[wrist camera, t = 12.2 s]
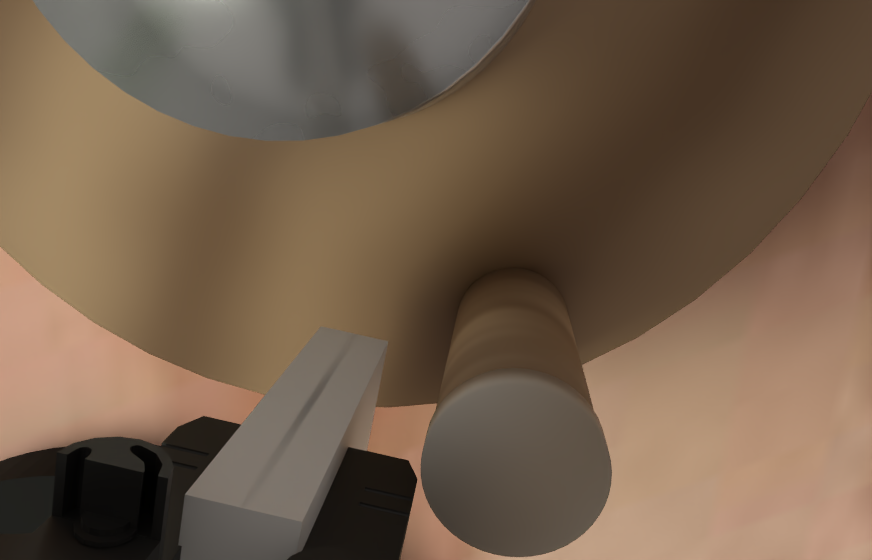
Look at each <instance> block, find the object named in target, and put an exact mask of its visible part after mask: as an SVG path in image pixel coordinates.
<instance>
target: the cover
mask: <svg viewBox="0 0 872 560" xmlns="http://www.w3.org/2000/svg"><path fill="white" fill-rule="evenodd" d="M535 1H536V0H33V2H34V3H35V5H36V6H37V8H38V9H39V11H40V12H41V13H42V14H43V15H44V17H45V18H46V19H47V20H48V21H49V23H50V24H51V25H52V26H53V27H54V29H55V30H56V31H57V32H58V33H59V35H60V36H61V37H62V38H63V40H64V41H65V42H66V43H67V44H68V45H69V46H70V47H72V48H73V49H74V50H75V51H76V52H77V53H78V54H79V55H80V56H81V57H82V58H83V59H84V60H85V61H86V62H87V63H88V64H89V65H90V66H91V67H92V68H93V69H95V70H96V71H97V72H99V73H100V74H101V75H103V76H104V77H105V78H107V79H108V80H109V81H111V82H112V83H113V84H115V85H116V86H117V87H119V88H120V89H121V90H123V91H124V92H125V93H127V94H129V95H131V96H132V97H134V98H136V99H138V100H139V101H141V102H143V103H144V104H146V105H148V106H150V107H151V108H153V109H155V110H157V111H158V112H161V113H163V114H166V115H168V116H170V117H173V118H175V119H178V120H180V121H182V122H185V123H187V124H189V125H192V126H195V127H199V128H202V129H206V130H210V131H213V132H217V133H221V134H224V135H228V136H234V137H242V138H249V139H256V140H264V141H303V140H310V139H318V138H325V137H332V136H339V135H343V134H346V133H350V132H353V131H357V130H360V129H364V128H368V127H371V126H375V125H378V124H382V123H385V122H389V121H392V120H395V119H399V118H402V117H406V116H409V115H411V114H414V113H416V112H418V111H420V110H423V109H425V108H427V107H430V106H432V105H434V104H436V103H438V102H439V101H441V100H443V99H444V98H446V97H448V96H449V95H451V94H453V93H454V92H456V91H458V90H459V89H461V88H462V87H463V86H464V85H466V84H467V83H468V82H469V81H471V80H472V79H473V78H474V77H476V76H477V75H478V74H479V73H481V72H482V71H483V70H484V69H485V68H486V67H487V66H488V65H489V64H490V63H491V62H492V61H493V60H494V59H495V58H496V57H497V56H498V55H499V54H500V52H501V51H502V50H503V49H504V48H505V47H506V46H507V44H508V43H509V42H510V40H511V39H512V38H513V36H514V35H515V33H516V32H517V31H518V29H519V28H520V27H521V25H522V24H523V22H524V21H525V19H526V17H527V15H528V14H529V12H530V10H531V8H532V7H533V5H534V3H535Z"/></svg>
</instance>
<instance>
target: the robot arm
mask: <svg viewBox="0 0 872 560" xmlns="http://www.w3.org/2000/svg"><path fill="white" fill-rule="evenodd" d="M387 346H388V341H385V340H380V339H376V338H371V337H367V336H362V335H358V334H353V333H349V332H345V331H340V330H336V329H331V328H327V327H322V326H321V327H320V328H319V329H318V331H317V332H316V333H315V334H314V336H313V337H312V338H311V339H310V340H309V342H308V343H307V344H306V345H305V347H304V348H303V349H302V350H301V352H300V353H299V354H298V355H297V357H296V358H295V359H294V360H293V361H292V363H291V364H290V365H289V366H288V368H287V369H286V370H285V371H284V373H283V374H282V375H281V376H280V378H279V379H278V380H277V381H276V382H275V384H274V385H273V386H272V387H271V389H270V390H269V391H268V392H267V394H266V395H265V396H264V397H263V399H262V400H261V401H260V402H259V404H258V405H257V406H256V407H255V408H254V410H253V411H252V412H251V413H250V415H249V416H248V417H247V418H246V420H245V421H244V422H243V423H242V425H240V424H236V423H232V422H227V421H223V420H219V419H214V418H210V417H205V416H203V417H201V418H198V419H196V420H193V421H191V422H189V423H186V424H184V425H181V426H179V427H177V428H176V429H175V430H174V431H173V432H172V433H171V434H170V435H169V436H168V437H167V438H166V439H165V440H164V441H163V442H162V445H161V446H157V445H154V444H151V443H148V442H145V441H143V440H139V439H131V438H124V437H105V438H93V439H89V440H85V441H81V442H77V443H73V444H71V445H69V446H68V447H66V448H64V449H62V450H60V451H58V452H57V456H56V468H55V481H54V493H53V505H52V515H51V516H50V517H49V518H48V519H47V520H46V521H45V522H44V523H43V524H42V525H41V526H39V527H38V528H37V529H36V530H35V531H34V532H33V533H25V534H0V560H400V557H401V553H402V548H403V543H404V539H405V534H406V530H407V525H408V520H409V516H410V511H411V507H412V502H413V498H414V493H415V488H416V484H417V477H416V475H415V473H414V471H413V469H412V467H411V465H410V463H409V461H408V460H404V459H399V458H395V457H390V456H386V455H382V454H377V453H373V452H369V451H367V447H368V442H369V437H370V432H371V427H372V422H373V417H374V412H375V407H376V402H377V397H378V391H379V386H380V381H381V376H382V371H383V366H384V361H385V356H386V351H387Z"/></svg>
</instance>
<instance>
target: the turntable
mask: <svg viewBox="0 0 872 560" xmlns="http://www.w3.org/2000/svg"><path fill="white" fill-rule="evenodd" d="M871 92H872V0H536V1H535V3H534V5H533V7H532V8H531V10H530V12H529V14H528V15H527V17H526V19H525V21H524V22H523V24H522V25H521V27H520V28H519V29H518V31H517V32H516V33H515V35H514V36H513V38H512V39H511V40H510V42H509V43H508V44H507V46H506V47H505V48H504V49H503V50H502V51H501V52H500V54H499V55H498V56H497V57H496V58H495V59H494V60H493V61H492V62H491V63H490V64H489V65H488V66H487V67H486V68H485V69H484V70H483V71H482V72H481V73H479V74H478V75H477V76H476V77H474V78H473V79H472V80H471V81H469V82H468V83H467V84H466V85H464V86H463V87H462V88H461V89H459V90H458V91H456V92H454V93H453V94H451V95H449V96H448V97H446V98H444V99H443V100H441V101H439V102H438V103H436V104H434V105H432V106H430V107H427V108H425V109H423V110H420V111H418V112H416V113H414V114H411V115H409V116H406V117H402V118H399V119H395V120H392V121H389V122H385V123H382V124H378V125H375V126H371V127H368V128H364V129H360V130H357V131H353V132H350V133H346V134H343V135H339V136H332V137H325V138H318V139H310V140H303V141H264V140H256V139H249V138H242V137H234V136H228V135H224V134H221V133H217V132H213V131H210V130H206V129H202V128H199V127H195V126H192V125H189V124H187V123H185V122H182V121H180V120H178V119H175V118H173V117H170V116H168V115H166V114H163V113H161V112H158V111H157V110H155V109H153V108H151V107H150V106H148V105H146V104H144V103H143V102H141V101H139V100H138V99H136V98H134V97H132V96H131V95H129V94H127V93H125V92H124V91H123V90H121V89H120V88H119V87H117V86H116V85H115V84H113V83H112V82H111V81H109V80H108V79H107V78H105V77H104V76H103V75H101V74H100V73H99V72H97V71H96V70H95V69H93V68H92V67H91V66H90V65H89V64H88V63H87V62H86V61H85V60H84V59H83V58H82V57H81V56H80V55H79V54H78V53H77V52H76V51H75V50H74V49H73V48H72V47H70V46H69V45H68V44H67V43H66V42H65V41H64V40H63V38H62V37H61V36H60V35H59V33H58V32H57V31H56V30H55V29H54V27H53V26H52V25H51V24H50V23H49V21H48V20H47V19H46V18H45V17H44V15H43V14H42V13H41V12H40V11H39V9H38V8H37V6H36V5H35V3H34V2H33V0H0V247H1V248H2V249H3V250H4V251H6V252H7V253H8V254H9V255H10V256H11V257H12V258H13V259H14V260H15V261H16V262H18V263H19V264H20V265H21V266H22V267H23V268H24V269H25V270H26V271H27V272H29V273H30V274H31V275H32V276H33V277H34V278H35V279H36V280H37V281H38V282H39V283H41V284H42V285H43V286H44V287H46V288H47V289H49V290H50V291H51V292H53V293H54V294H55V295H57V296H58V297H60V298H61V299H62V300H64V301H65V302H66V303H68V304H69V305H71V306H72V307H73V308H75V309H76V310H77V311H79V312H80V313H82V314H83V315H84V316H86V317H87V318H88V319H90V320H91V321H93V322H94V323H96V324H98V325H99V326H101V327H103V328H105V329H106V330H108V331H110V332H112V333H113V334H115V335H117V336H119V337H120V338H122V339H124V340H126V341H128V342H129V343H131V344H133V345H135V346H136V347H138V348H140V349H142V350H143V351H145V352H147V353H149V354H151V355H153V356H156V357H158V358H161V359H163V360H165V361H168V362H170V363H172V364H175V365H177V366H180V367H182V368H184V369H187V370H189V371H191V372H194V373H196V374H199V375H201V376H203V377H206V378H209V379H212V380H216V381H219V382H223V383H226V384H230V385H233V386H237V387H240V388H244V389H247V390H250V391H254V392H257V393H261V394H264V395H266V394H267V392H268V391H269V390H270V389H271V387H272V386H273V385H274V384H275V382H276V381H277V380H278V379H279V378H280V376H281V375H282V374H283V373H284V371H285V370H286V369H287V368H288V366H289V365H290V364H291V363H292V361H293V360H294V359H295V358H296V357H297V355H298V354H299V353H300V352H301V350H302V349H303V348H304V347H305V345H306V344H307V343H308V342H309V340H310V339H311V338H312V337H313V336H314V334H315V333H316V332H317V331H318V329H319V328H320V327H321V326H322V327H327V328H331V329H336V330H340V331H345V332H349V333H353V334H358V335H362V336H367V337H371V338H376V339H380V340H385V341H388V346H387V351H386V356H385V361H384V366H383V371H382V376H381V381H380V386H379V391H378V397H377V402H376V407H399V406H410V405H422V404H434V403H437V407H436V411H435V412H434V415H433V417H432V419H431V421H430V424H429V428H428V431H427V435H426V439H425V443H424V448H423V452H422V458H421V479H422V486H423V489H424V493H425V496H426V499H427V501H428V503H429V505H430V507H431V509H432V510H433V512H434V514H435V515H436V517H437V518H438V519H439V520H440V522H441V523H442V524H443V525H444V526H445V527H446V528H447V529H448V530H449V531H450V532H451V533H452V534H454V535H455V536H456V537H458V538H459V539H460V540H462V541H464V542H465V543H467V544H469V545H471V546H472V547H475V548H477V549H480V550H482V551H485V552H488V553H492V554H496V555H501V556H509V557H528V556H536V555H541V554H545V553H549V552H552V551H555V550H557V549H559V548H562V547H564V546H566V545H568V544H569V543H571V542H573V541H574V540H576V539H577V538H578V537H580V536H581V535H582V534H584V533H585V532H586V531H587V530H588V529H589V528H590V527H591V526H592V525H593V523H594V522H595V521H596V519H597V518H598V516H599V515H600V513H601V511H602V510H603V508H604V506H605V503H606V501H607V498H608V495H609V491H610V486H611V477H612V469H611V460H610V455H609V451H608V447H607V444H606V440H605V436H604V433H603V429H602V427H601V424H600V422H599V419H598V417H597V415H596V414H595V412H594V410H593V406H592V402H591V398H590V394H589V391H588V387H587V383H586V379H585V376H584V372H583V368H582V364H584V363H586V362H588V361H591V360H593V359H595V358H597V357H599V356H601V355H603V354H605V353H607V352H609V351H611V350H613V349H615V348H617V347H619V346H621V345H623V344H625V343H627V342H629V341H631V340H633V339H635V338H637V337H639V336H640V335H642V334H643V333H645V332H647V331H648V330H650V329H651V328H653V327H654V326H656V325H657V324H659V323H660V322H662V321H663V320H665V319H666V318H668V317H669V316H671V315H673V314H674V313H676V312H677V311H679V310H680V309H682V308H683V307H685V306H686V305H688V304H689V303H691V302H692V301H694V300H695V299H697V298H698V297H699V296H700V295H701V294H703V293H704V292H705V291H706V290H707V289H708V288H710V287H711V286H712V285H713V284H714V283H716V282H717V281H718V280H719V279H720V278H722V277H723V276H724V275H725V274H726V273H727V272H729V271H730V270H731V269H732V268H733V267H735V266H736V265H737V264H738V263H739V262H741V261H742V260H743V259H744V258H745V257H746V256H748V255H749V254H750V253H751V252H752V251H753V250H754V249H755V248H756V247H757V245H758V244H759V243H760V242H761V241H762V240H763V239H764V238H765V237H766V236H767V235H768V234H769V233H770V232H771V230H772V229H773V228H774V227H775V226H776V225H777V224H778V223H779V222H780V221H781V220H782V219H783V218H784V217H785V215H786V214H787V213H788V212H789V211H790V210H791V209H792V208H793V207H794V206H795V205H796V204H797V203H798V202H799V200H800V199H801V198H802V197H803V195H804V194H805V193H806V191H807V190H808V189H809V187H810V186H811V184H812V183H813V182H814V180H815V179H816V178H817V176H818V175H819V174H820V172H821V171H822V169H823V168H824V167H825V165H826V164H827V163H828V161H829V160H830V158H831V157H832V156H833V154H834V153H835V152H836V150H837V149H838V148H839V146H840V145H841V143H842V142H843V141H844V139H845V138H846V137H847V135H848V133H849V131H850V130H851V128H852V126H853V124H854V123H855V121H856V119H857V117H858V115H859V114H860V112H861V110H862V108H863V107H864V105H865V103H866V101H867V99H868V98H869V96H870V94H871Z"/></svg>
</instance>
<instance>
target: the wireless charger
mask: <svg viewBox="0 0 872 560" xmlns="http://www.w3.org/2000/svg"><path fill="white" fill-rule="evenodd" d="M64 448H66V447H61V448H52V449H47V450H41V451H36V452H30V453H27V454H23V455H19V456H16V457H12V458H9V459H6V460H3V461H0V534H25V533H33V532H34V531H35V530H36V529H37V528H38V527H39V526H41V525H42V524H43V523H44V522H45V521H46V520H47V519H48V518H49V517H50V516H51V515H52V505H53V493H54V481H55V468H56V456H57V452H58V451H60V450H62V449H64Z"/></svg>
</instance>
